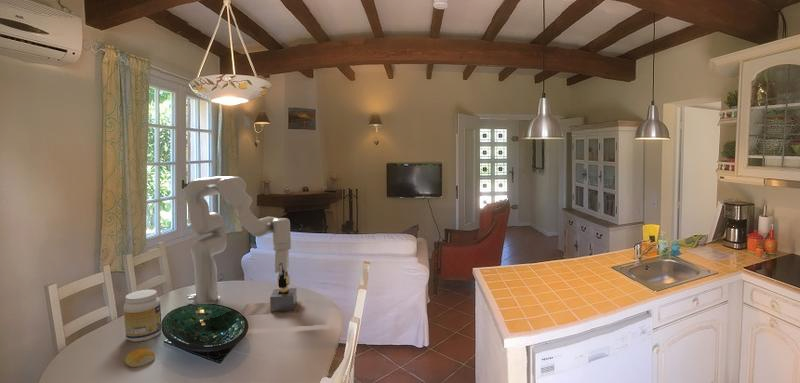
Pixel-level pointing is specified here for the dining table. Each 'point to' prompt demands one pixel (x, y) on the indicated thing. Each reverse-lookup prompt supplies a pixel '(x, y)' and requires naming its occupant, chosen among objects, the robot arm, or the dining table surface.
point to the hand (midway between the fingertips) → (283, 284)
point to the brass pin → (285, 290)
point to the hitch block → (283, 300)
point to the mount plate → (264, 309)
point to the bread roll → (139, 357)
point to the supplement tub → (142, 315)
